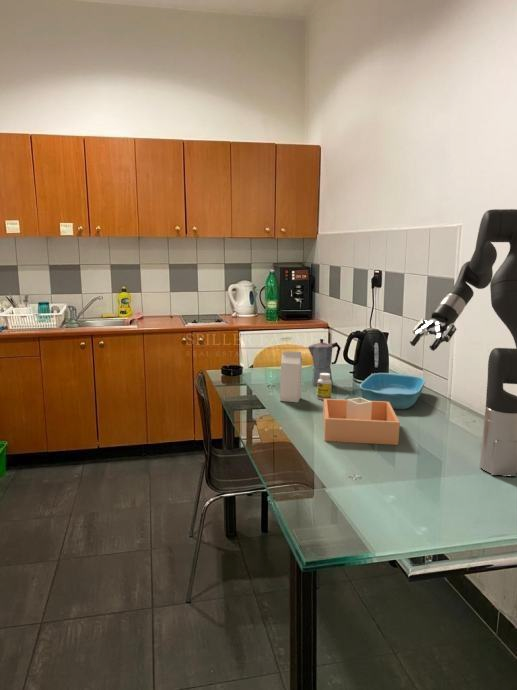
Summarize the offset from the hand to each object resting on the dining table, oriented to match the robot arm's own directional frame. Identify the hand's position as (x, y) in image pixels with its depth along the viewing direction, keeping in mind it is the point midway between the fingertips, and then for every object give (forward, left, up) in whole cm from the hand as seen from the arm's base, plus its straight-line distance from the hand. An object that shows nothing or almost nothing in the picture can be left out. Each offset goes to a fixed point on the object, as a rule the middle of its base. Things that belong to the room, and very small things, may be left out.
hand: (421, 346), depth 175 cm
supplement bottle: (+27, +30, -27) cm, 48 cm away
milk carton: (+23, +43, -27) cm, 56 cm away
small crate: (-9, +20, -26) cm, 34 cm away
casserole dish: (+31, +3, -27) cm, 41 cm away
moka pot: (+48, +30, -27) cm, 62 cm away
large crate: (-9, +20, -27) cm, 35 cm away
